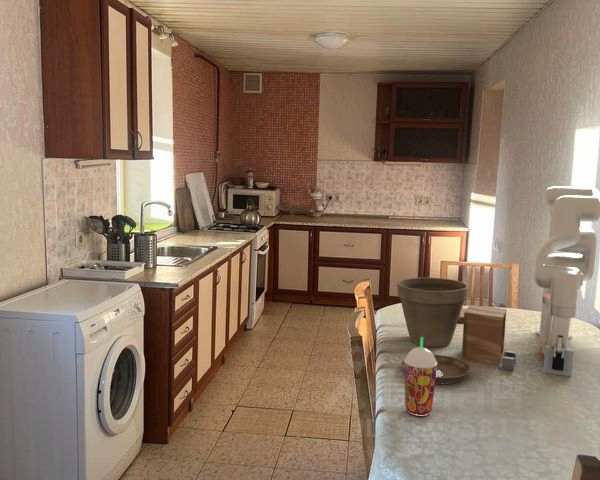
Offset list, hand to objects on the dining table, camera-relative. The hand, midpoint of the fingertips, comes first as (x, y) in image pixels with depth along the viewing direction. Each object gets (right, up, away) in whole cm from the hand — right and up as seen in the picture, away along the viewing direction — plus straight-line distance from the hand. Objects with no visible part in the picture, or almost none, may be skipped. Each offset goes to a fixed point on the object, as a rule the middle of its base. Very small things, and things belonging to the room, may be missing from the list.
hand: (557, 366), depth 177 cm
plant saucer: (-39, -2, -3) cm, 40 cm away
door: (0, -2, 0) cm, 2 cm away
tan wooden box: (-19, 0, +14) cm, 23 cm away
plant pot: (-33, +2, +30) cm, 45 cm away
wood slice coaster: (-12, +6, +63) cm, 64 cm away
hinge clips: (-14, -1, +4) cm, 14 cm away
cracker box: (+4, 0, +14) cm, 15 cm away
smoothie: (-50, -5, -31) cm, 59 cm away
